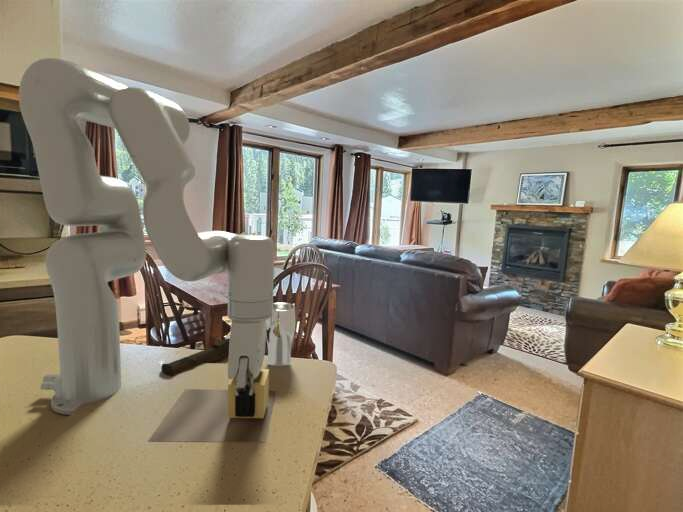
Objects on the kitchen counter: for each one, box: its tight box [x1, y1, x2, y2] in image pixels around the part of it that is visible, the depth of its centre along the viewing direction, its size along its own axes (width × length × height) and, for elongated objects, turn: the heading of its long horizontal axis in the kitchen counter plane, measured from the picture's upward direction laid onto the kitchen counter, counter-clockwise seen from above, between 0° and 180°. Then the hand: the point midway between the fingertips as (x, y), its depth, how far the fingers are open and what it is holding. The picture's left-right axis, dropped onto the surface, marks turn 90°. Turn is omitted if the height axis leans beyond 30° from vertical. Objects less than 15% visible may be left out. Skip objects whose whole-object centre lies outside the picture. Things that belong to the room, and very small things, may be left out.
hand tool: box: [161, 338, 230, 377], centre depth 86 cm, size 19×4×5 cm, turn 146°
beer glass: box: [266, 302, 296, 367], centre depth 87 cm, size 7×7×15 cm
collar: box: [227, 368, 270, 418], centre depth 65 cm, size 6×6×6 cm
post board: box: [147, 388, 278, 443], centre depth 65 cm, size 18×16×6 cm
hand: (248, 404), depth 65 cm, fingers closed on collar, 5 cm apart
